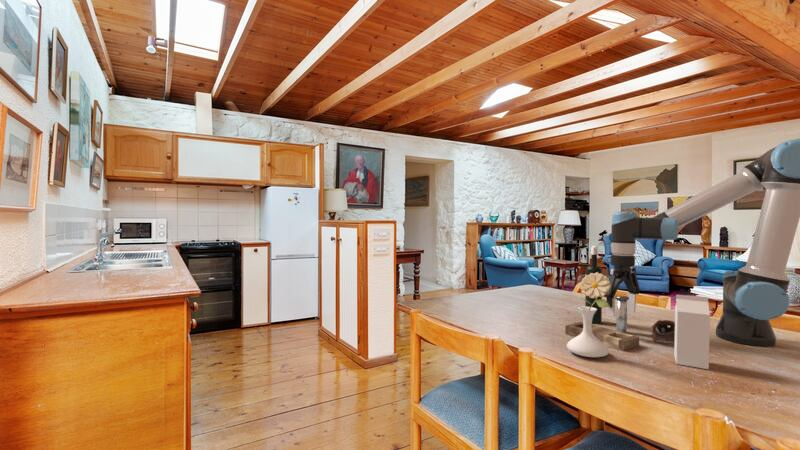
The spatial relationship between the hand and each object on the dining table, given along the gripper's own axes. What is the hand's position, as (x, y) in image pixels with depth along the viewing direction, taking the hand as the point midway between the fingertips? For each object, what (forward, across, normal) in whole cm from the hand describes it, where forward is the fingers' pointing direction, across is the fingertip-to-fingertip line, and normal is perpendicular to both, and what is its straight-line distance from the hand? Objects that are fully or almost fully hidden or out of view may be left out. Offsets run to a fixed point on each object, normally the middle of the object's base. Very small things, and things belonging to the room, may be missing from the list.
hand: (620, 313), depth 136 cm
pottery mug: (+7, -3, +14) cm, 16 cm away
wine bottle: (+7, -4, -13) cm, 15 cm away
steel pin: (+7, 0, 0) cm, 7 cm away
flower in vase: (+7, +32, +8) cm, 33 cm away
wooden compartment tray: (+7, +15, +1) cm, 16 cm away
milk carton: (+7, +13, +26) cm, 30 cm away
